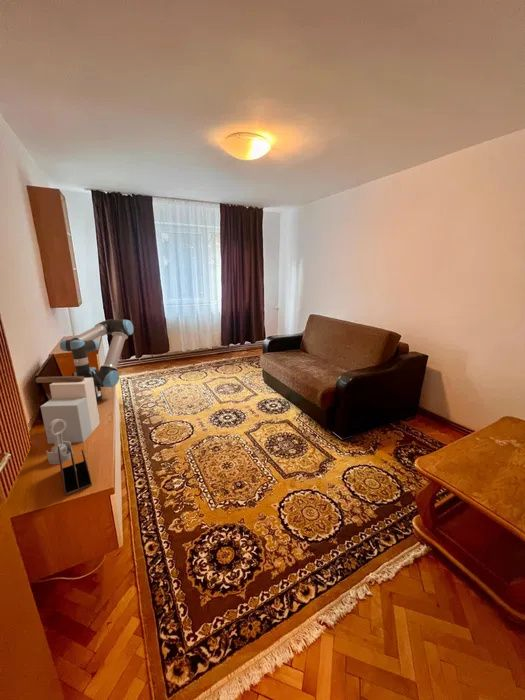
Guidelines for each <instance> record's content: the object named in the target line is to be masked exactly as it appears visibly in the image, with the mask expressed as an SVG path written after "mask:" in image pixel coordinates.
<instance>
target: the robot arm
mask: <svg viewBox="0 0 525 700" xmlns="http://www.w3.org/2000/svg"><path fill="white" fill-rule="evenodd" d="M133 334H134V325H133V322H132V321H131V320H129V319H116V318H115V319H112V318H111V319H106V320H103V321H101V322H99V323H97V324H95V325H94V327H91V328H90V329H87V330H86V331H84V332H82V333H80V334H78V335H76V336H75V337H73V338H70V339H63V340H61V341H60V343H59V347H60V350H61V351H63V352H68V353H69V352H71V354H72V358H73V363H74V364H73V365H74V368H75V372H73V373H71V376H84V378H93V381H94V388H95V394H96V401H97V402H98V401H101V400H102V399H103V397H104V395H103V393H102V388H103V387H104V388H113V387H114V386H116V385H117V384H118V383H119V381H120V373H119V371H118V368H117V367H118V365H119V360H120V357H121V354H122V351H123V348H124V344H125V341H126V340H127V339H129V336H131V335H133ZM106 335H112V339H111V341H110V345H109V347H108V351H107V353H106V357H105V360H104V362H103V365H101V366H100V367H99V369H97V368H96V366H92V367H91V366H90V364H89V363H90V361H89V357H88V354H89V353H93V352H95V351H97V350H99V348H100V343H99V342H98V340H96V339H98V338H99V337H104V336H106Z"/></svg>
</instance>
